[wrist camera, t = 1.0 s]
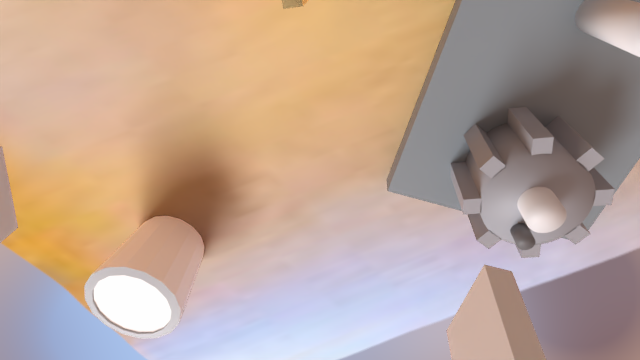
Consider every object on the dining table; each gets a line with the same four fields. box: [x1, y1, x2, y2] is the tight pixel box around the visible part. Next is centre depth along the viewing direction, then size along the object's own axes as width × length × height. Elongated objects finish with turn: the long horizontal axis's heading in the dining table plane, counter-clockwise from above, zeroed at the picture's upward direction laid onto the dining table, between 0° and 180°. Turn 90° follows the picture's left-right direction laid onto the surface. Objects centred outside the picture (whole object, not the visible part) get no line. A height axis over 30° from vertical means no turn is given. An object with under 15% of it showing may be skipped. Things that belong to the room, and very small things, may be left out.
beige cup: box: [85, 216, 205, 338], centre depth 33 cm, size 7×7×7 cm
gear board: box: [387, 0, 640, 258], centre depth 24 cm, size 18×14×8 cm
